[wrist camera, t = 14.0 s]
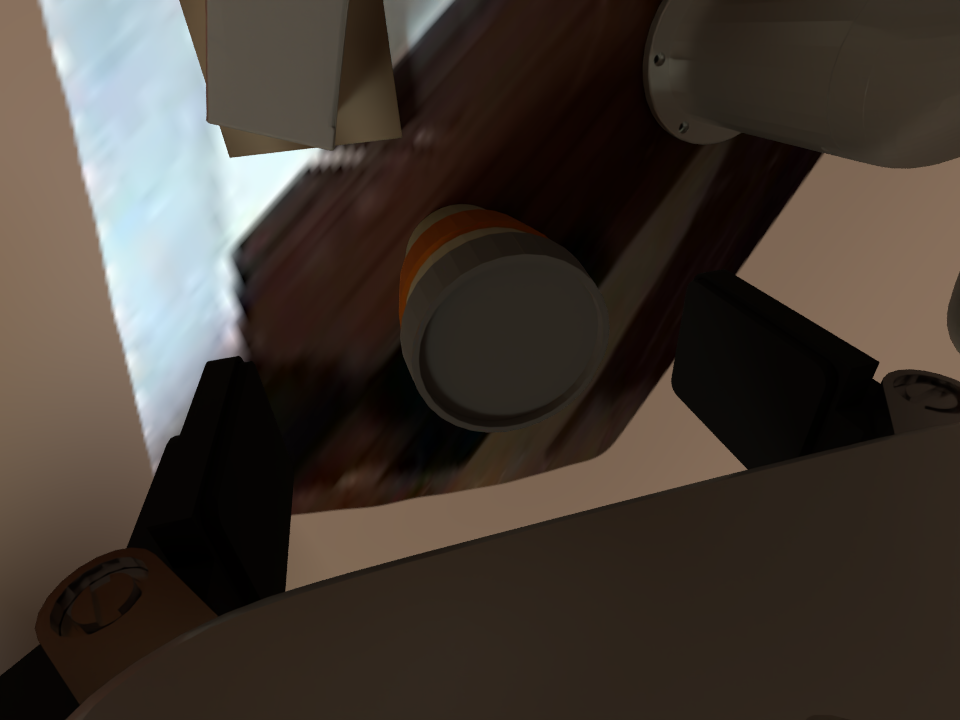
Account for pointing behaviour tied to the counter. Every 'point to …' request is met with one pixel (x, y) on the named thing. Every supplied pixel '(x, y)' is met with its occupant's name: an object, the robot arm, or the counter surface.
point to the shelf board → (362, 87)
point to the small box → (276, 67)
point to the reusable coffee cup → (497, 320)
